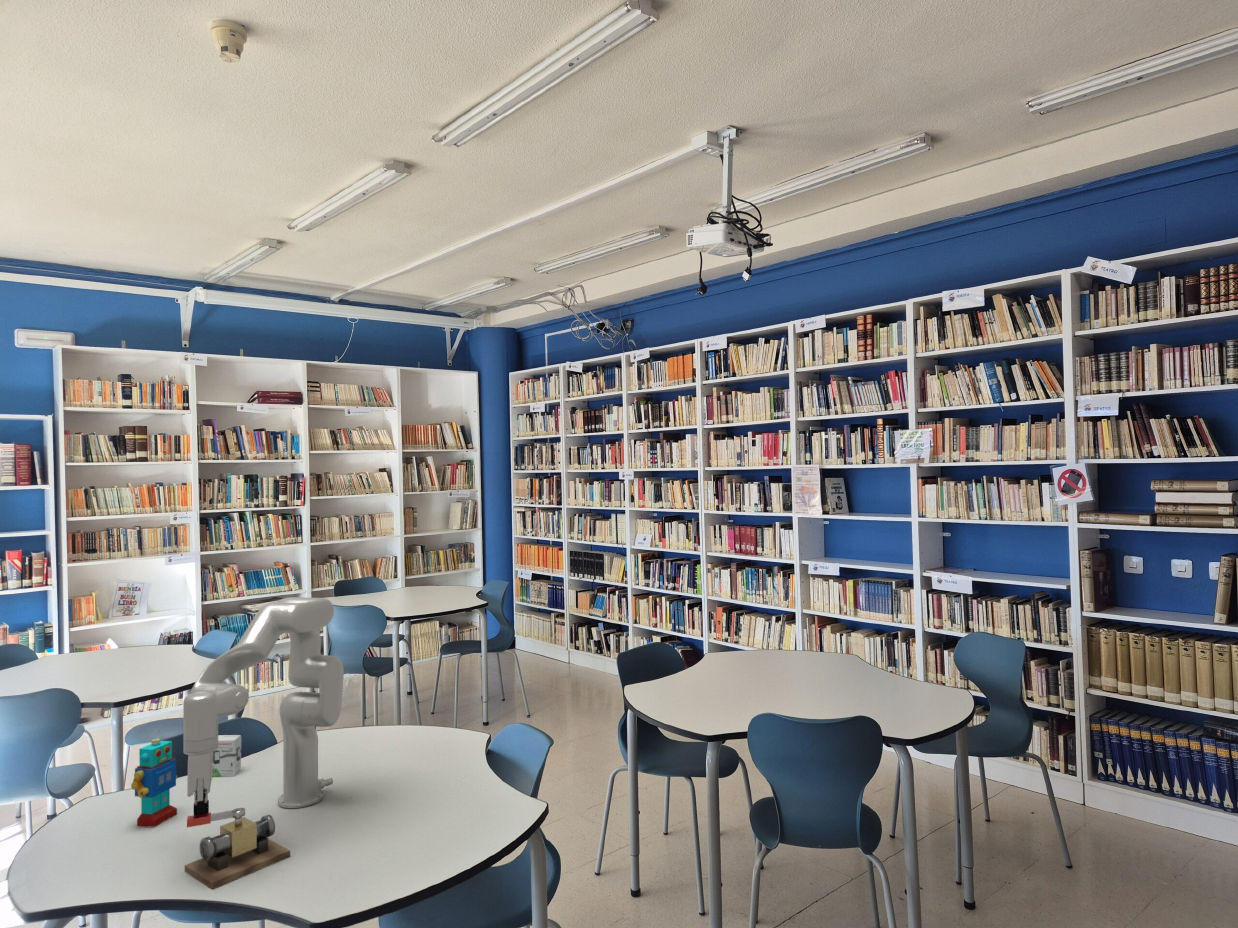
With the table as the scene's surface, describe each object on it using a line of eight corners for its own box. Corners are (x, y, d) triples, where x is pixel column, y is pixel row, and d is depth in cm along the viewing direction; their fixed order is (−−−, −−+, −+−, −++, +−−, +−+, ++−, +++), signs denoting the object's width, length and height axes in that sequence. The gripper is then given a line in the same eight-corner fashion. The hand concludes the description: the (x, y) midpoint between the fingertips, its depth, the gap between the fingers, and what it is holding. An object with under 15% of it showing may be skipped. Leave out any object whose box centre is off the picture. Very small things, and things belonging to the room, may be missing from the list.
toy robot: (148, 829, 205) (149, 737, 206) (130, 828, 206) (130, 735, 207) (181, 811, 216) (181, 724, 217) (163, 810, 218) (163, 722, 218)
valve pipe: (263, 841, 194) (263, 802, 195) (276, 847, 191) (276, 807, 191) (198, 867, 181) (198, 825, 182) (210, 874, 178) (210, 831, 178)
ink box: (207, 777, 243) (207, 740, 243) (214, 771, 248) (215, 735, 248) (234, 776, 243) (234, 739, 243) (241, 770, 248) (241, 734, 248)
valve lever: (245, 812, 188) (245, 805, 188) (245, 817, 186) (245, 810, 186) (187, 823, 183) (187, 815, 183) (186, 828, 180) (186, 820, 180)
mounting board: (261, 840, 198) (261, 835, 198) (290, 856, 189) (290, 850, 189) (184, 871, 183) (184, 864, 183) (212, 889, 174) (212, 882, 174)
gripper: (185, 737, 191) (185, 810, 190) (181, 755, 177) (181, 834, 177) (219, 732, 194) (219, 804, 194) (217, 750, 181) (217, 827, 180)
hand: (201, 818), depth 185 cm, fingers closed
